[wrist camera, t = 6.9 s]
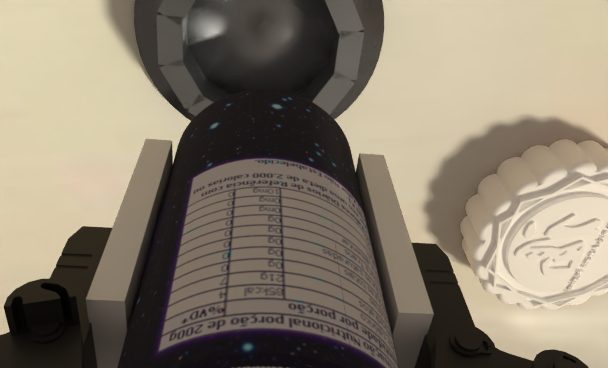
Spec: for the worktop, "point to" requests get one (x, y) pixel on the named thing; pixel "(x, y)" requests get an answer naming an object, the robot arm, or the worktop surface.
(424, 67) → the worktop surface
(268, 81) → the ring collar
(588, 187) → the mooncake
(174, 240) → the beverage can
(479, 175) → the worktop surface
